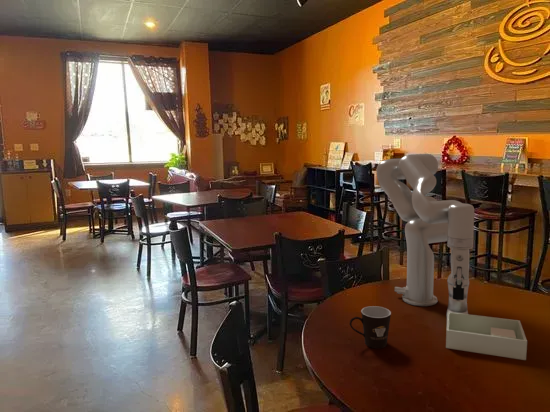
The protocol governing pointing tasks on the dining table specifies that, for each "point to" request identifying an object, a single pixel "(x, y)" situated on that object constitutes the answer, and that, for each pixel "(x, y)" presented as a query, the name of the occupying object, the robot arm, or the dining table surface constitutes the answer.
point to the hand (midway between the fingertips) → (458, 294)
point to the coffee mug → (374, 326)
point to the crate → (484, 335)
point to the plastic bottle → (454, 304)
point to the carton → (502, 333)
